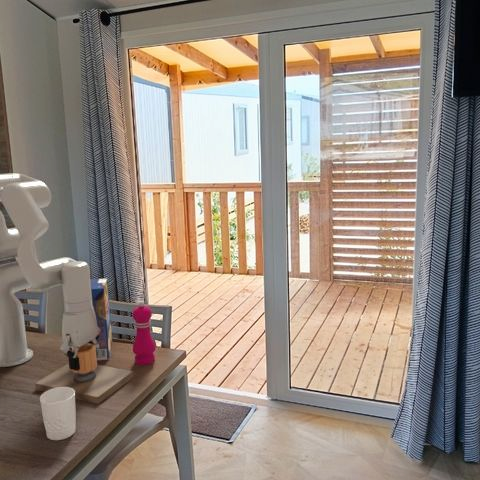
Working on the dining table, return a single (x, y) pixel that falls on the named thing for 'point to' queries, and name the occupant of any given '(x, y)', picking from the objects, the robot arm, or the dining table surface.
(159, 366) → the dining table surface
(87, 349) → the ring
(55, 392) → the white cup
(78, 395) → the post board
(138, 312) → the pepper mill
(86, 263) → the robot arm
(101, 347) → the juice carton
